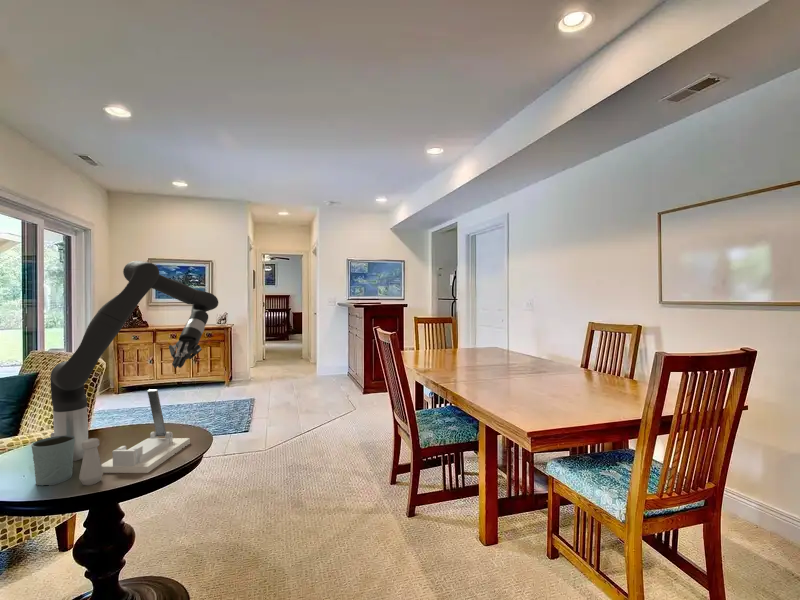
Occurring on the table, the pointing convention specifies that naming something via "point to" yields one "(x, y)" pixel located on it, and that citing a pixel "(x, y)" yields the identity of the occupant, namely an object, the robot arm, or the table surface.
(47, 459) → the pale green planter pot
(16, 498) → the table surface
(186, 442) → the stand
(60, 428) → the robot arm
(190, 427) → the table surface
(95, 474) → the salt shaker
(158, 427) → the bar
